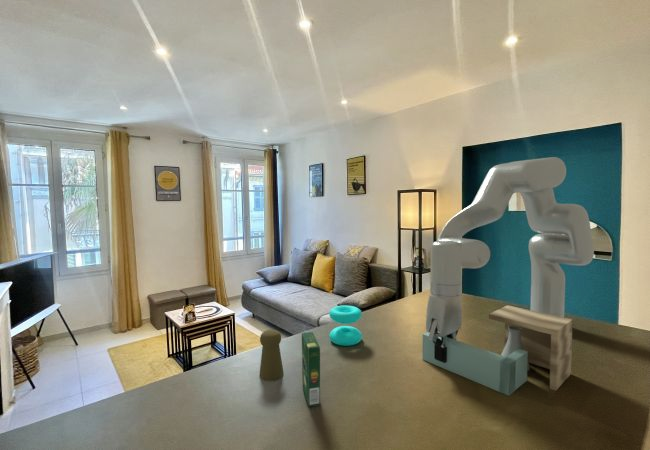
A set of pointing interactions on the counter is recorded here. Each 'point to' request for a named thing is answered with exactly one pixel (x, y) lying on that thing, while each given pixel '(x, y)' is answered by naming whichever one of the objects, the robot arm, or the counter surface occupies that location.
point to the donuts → (345, 333)
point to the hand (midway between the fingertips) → (444, 357)
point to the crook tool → (481, 364)
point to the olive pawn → (271, 356)
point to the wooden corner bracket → (541, 339)
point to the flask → (514, 342)
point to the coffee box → (311, 368)
